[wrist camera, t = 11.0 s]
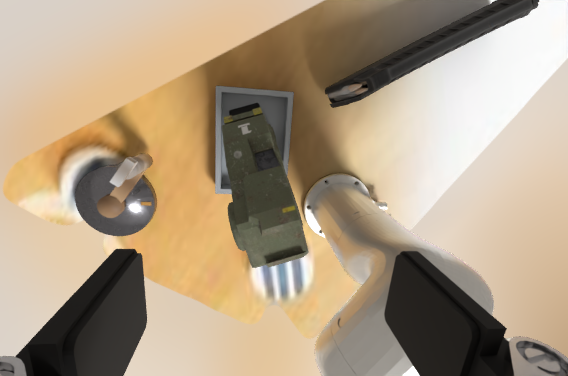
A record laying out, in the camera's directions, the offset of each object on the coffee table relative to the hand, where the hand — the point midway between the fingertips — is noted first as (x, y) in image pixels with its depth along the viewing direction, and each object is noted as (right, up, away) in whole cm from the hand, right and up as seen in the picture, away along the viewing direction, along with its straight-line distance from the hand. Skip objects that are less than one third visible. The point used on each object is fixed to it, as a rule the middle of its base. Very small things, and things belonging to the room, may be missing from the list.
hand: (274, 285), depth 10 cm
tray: (-5, +11, +37) cm, 39 cm away
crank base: (-27, +2, +37) cm, 46 cm away
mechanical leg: (-5, +11, +37) cm, 39 cm away
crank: (-24, +4, +34) cm, 42 cm away
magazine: (+20, +25, +36) cm, 49 cm away
